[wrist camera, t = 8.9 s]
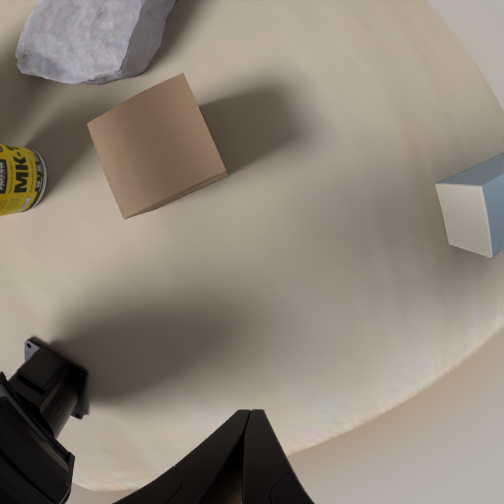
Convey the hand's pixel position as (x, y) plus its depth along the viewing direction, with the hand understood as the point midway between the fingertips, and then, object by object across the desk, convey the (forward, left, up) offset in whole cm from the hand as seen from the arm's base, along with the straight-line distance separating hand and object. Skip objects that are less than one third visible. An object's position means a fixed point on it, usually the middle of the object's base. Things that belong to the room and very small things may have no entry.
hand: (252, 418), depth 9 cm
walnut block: (+7, +7, -11) cm, 15 cm away
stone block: (+14, +18, -12) cm, 26 cm away
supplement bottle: (+2, +18, -12) cm, 22 cm away
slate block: (+11, -12, -9) cm, 19 cm away
